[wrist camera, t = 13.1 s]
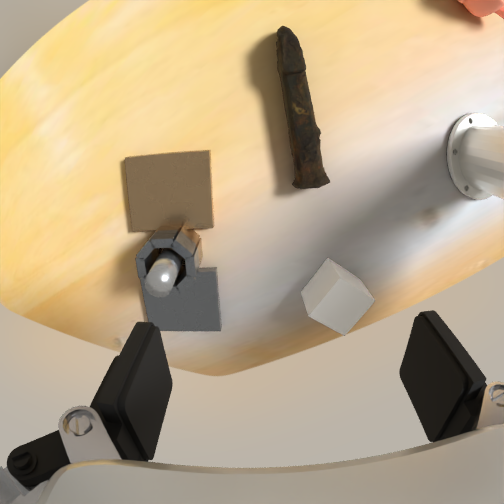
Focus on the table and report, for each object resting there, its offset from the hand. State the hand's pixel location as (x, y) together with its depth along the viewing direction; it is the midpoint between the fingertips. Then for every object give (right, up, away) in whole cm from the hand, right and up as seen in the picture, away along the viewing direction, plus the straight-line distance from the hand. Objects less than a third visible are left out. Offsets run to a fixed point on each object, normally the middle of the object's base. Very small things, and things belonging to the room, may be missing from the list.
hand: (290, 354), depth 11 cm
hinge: (-11, +4, +29) cm, 31 cm away
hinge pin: (-11, +4, +29) cm, 31 cm away
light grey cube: (+9, -1, +31) cm, 33 cm away
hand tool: (+3, +20, +23) cm, 31 cm away
